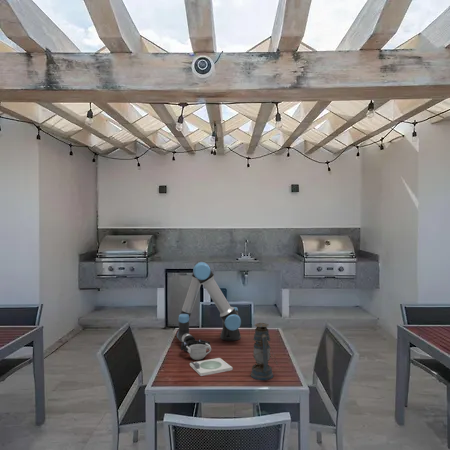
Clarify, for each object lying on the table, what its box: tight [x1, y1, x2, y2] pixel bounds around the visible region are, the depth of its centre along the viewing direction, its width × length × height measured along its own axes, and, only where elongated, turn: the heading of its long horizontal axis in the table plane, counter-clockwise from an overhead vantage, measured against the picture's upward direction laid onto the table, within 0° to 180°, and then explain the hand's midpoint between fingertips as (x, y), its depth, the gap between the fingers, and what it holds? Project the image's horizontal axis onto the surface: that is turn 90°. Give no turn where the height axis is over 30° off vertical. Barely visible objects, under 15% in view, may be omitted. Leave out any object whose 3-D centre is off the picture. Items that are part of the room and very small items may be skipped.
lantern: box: [250, 322, 279, 381], centre depth 216 cm, size 19×14×30 cm
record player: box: [189, 357, 233, 377], centre depth 229 cm, size 20×18×4 cm
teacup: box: [189, 344, 212, 361], centre depth 244 cm, size 14×11×8 cm
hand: (200, 349), depth 244 cm, fingers closed on teacup, 13 cm apart
